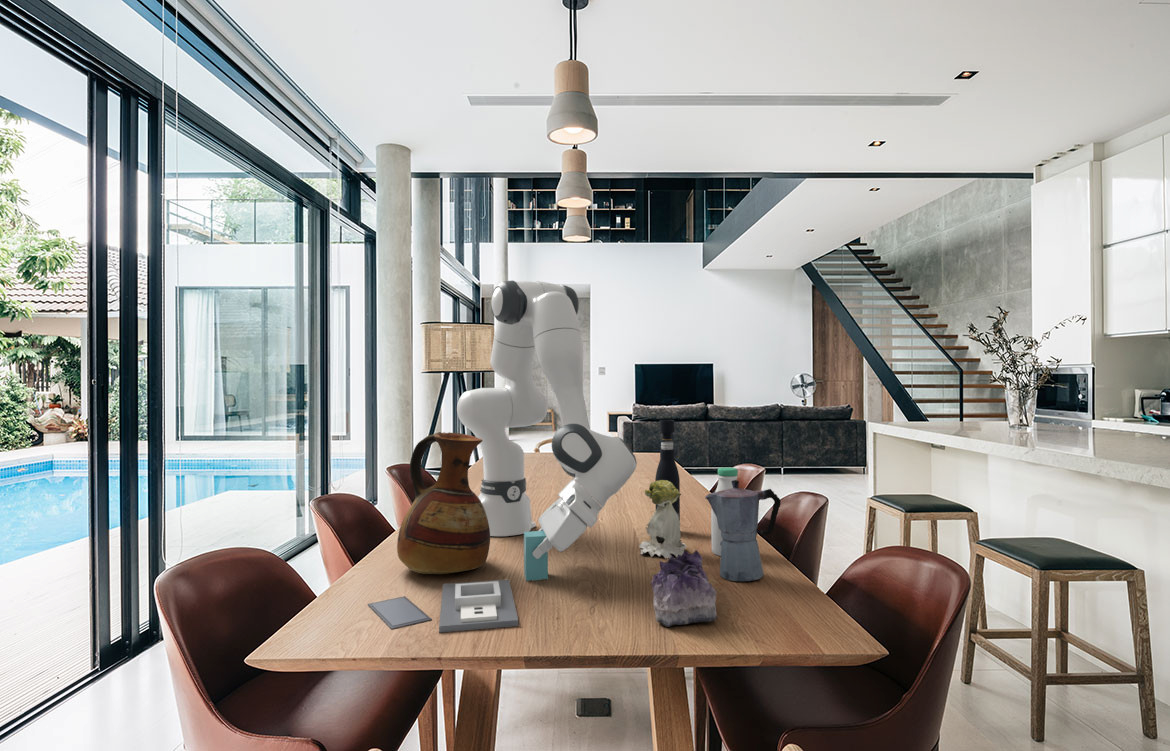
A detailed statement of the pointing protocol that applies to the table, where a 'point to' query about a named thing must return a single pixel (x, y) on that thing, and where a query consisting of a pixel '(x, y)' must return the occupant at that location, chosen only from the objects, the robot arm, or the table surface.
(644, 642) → the table surface
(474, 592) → the grey socket base board
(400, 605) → the phone
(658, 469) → the wine bottle
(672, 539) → the green-topped white figurine
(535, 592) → the table surface
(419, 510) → the ceramic pitcher
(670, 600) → the geode
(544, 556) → the teal box with slot
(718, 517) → the moka pot
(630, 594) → the table surface
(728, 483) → the milk bottle
